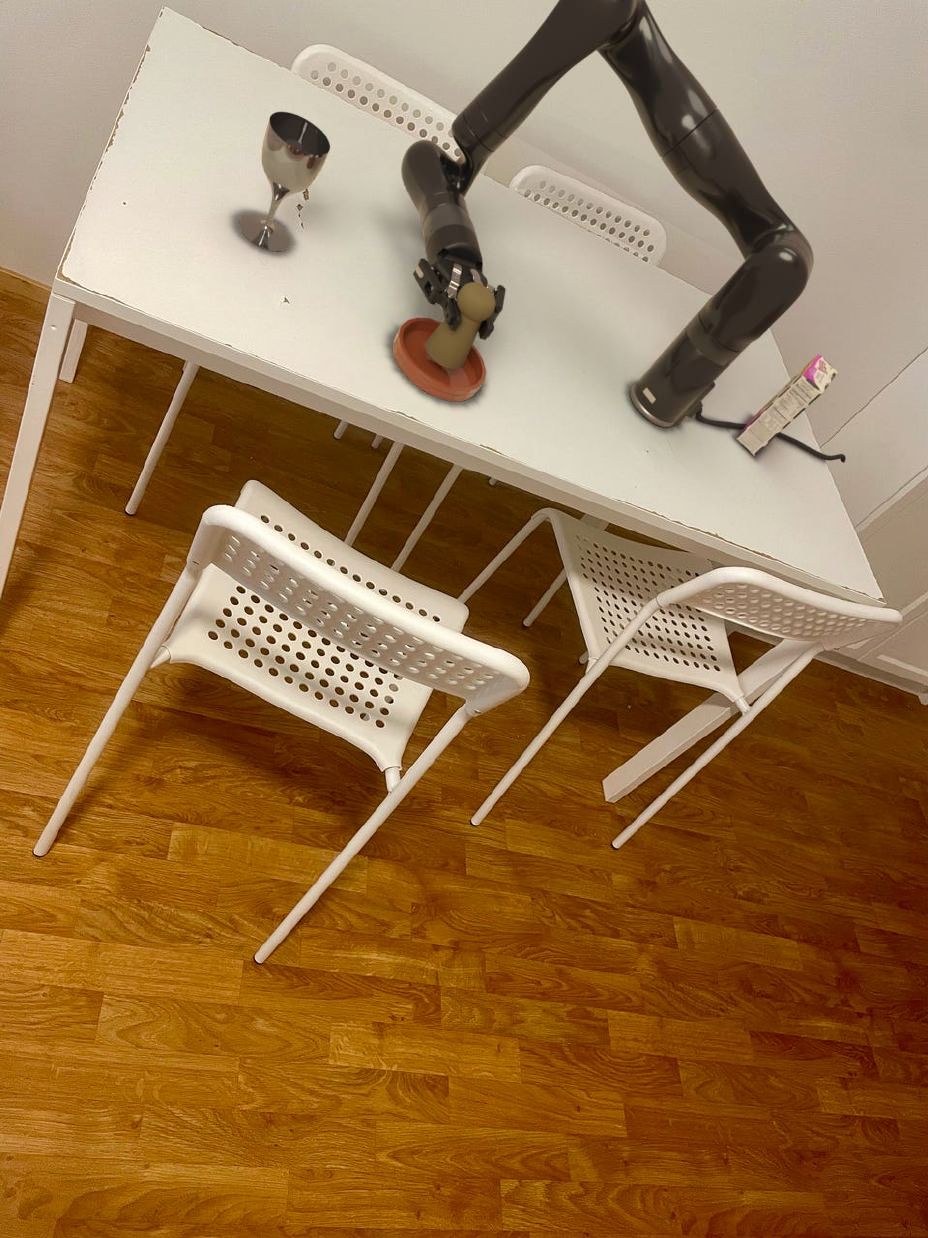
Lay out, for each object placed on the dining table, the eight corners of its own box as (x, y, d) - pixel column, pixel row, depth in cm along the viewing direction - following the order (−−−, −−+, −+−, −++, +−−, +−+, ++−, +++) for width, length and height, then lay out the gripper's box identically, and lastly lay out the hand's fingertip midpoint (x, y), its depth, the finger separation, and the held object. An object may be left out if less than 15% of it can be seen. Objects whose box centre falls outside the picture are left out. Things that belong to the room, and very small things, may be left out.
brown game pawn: (458, 376, 118) (497, 315, 110) (420, 352, 117) (457, 289, 109) (468, 353, 122) (506, 293, 114) (432, 329, 120) (468, 267, 112)
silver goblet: (303, 246, 120) (342, 151, 109) (265, 258, 115) (301, 158, 104) (264, 208, 120) (299, 108, 109) (223, 218, 115) (256, 114, 104)
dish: (469, 343, 127) (476, 332, 126) (485, 410, 121) (493, 400, 119) (387, 318, 121) (393, 306, 119) (399, 387, 114) (406, 376, 113)
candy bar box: (751, 416, 159) (818, 352, 147) (770, 434, 159) (839, 372, 147) (733, 438, 151) (802, 372, 139) (753, 457, 151) (825, 393, 139)
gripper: (417, 206, 115) (436, 292, 107) (507, 240, 122) (531, 323, 113) (395, 252, 120) (411, 337, 112) (482, 281, 127) (503, 363, 119)
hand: (471, 329), depth 113 cm, fingers closed on brown game pawn, 4 cm apart
